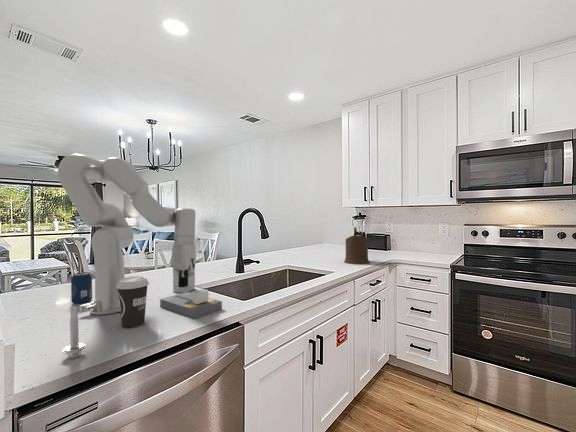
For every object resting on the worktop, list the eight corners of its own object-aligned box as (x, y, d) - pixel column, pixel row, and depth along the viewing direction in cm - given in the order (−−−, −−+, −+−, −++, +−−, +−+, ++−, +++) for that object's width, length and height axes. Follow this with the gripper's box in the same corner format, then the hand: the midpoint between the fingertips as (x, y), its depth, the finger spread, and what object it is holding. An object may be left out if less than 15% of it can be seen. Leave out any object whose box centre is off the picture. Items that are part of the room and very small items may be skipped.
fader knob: (197, 304, 102) (197, 293, 102) (192, 302, 103) (191, 291, 103) (208, 300, 106) (208, 289, 106) (203, 299, 108) (203, 288, 108)
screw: (88, 355, 72) (64, 363, 69) (83, 349, 75) (60, 356, 72) (87, 305, 72) (63, 310, 68) (82, 301, 75) (59, 306, 72)
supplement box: (187, 292, 129) (186, 265, 129) (172, 292, 130) (172, 265, 130) (195, 288, 136) (195, 262, 136) (181, 287, 138) (181, 262, 137)
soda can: (69, 302, 116) (69, 273, 115) (90, 298, 121) (89, 271, 121) (73, 306, 111) (72, 276, 111) (94, 302, 116) (93, 273, 116)
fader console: (195, 318, 97) (195, 309, 97) (160, 306, 110) (160, 298, 110) (221, 309, 107) (221, 300, 107) (187, 299, 120) (186, 291, 119)
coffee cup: (126, 332, 86) (125, 283, 86) (110, 326, 91) (109, 280, 91) (155, 322, 94) (154, 277, 94) (139, 316, 99) (138, 274, 99)
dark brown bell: (344, 264, 198) (344, 228, 197) (343, 258, 221) (343, 227, 221) (371, 264, 194) (371, 228, 194) (367, 259, 218) (367, 227, 218)
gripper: (164, 238, 111) (163, 285, 111) (187, 242, 102) (186, 292, 102) (181, 237, 117) (180, 281, 117) (204, 240, 108) (203, 288, 108)
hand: (183, 286), depth 110 cm, fingers closed
